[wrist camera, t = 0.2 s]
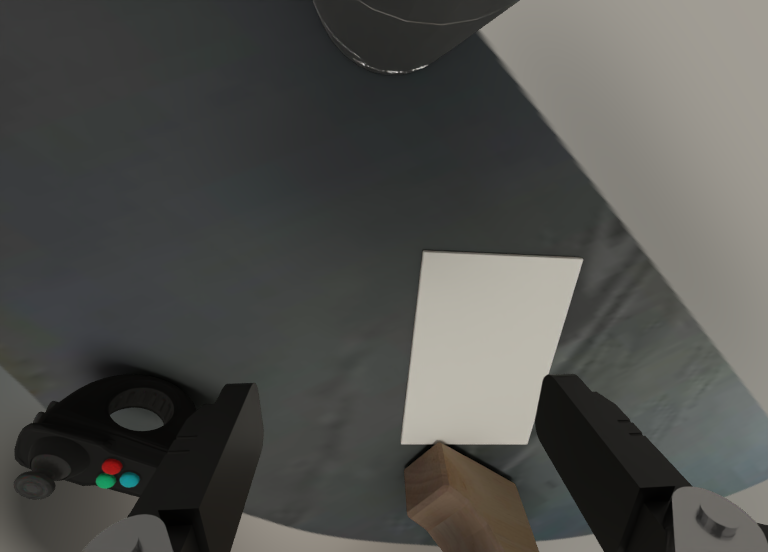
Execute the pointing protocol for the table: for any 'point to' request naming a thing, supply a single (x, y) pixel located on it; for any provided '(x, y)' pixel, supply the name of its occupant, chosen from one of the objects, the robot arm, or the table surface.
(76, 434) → the controller
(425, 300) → the mat
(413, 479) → the decorative block
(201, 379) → the table surface
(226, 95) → the table surface
